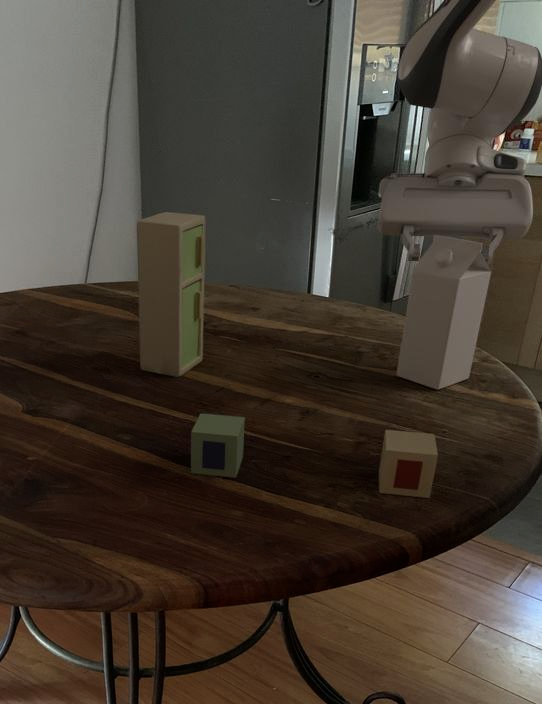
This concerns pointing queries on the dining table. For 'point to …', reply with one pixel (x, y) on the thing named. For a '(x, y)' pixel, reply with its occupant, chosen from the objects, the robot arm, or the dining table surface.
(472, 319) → the milk carton
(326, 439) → the dining table surface
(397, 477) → the cream letter block
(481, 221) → the robot arm
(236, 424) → the sage letter block
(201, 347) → the toy refrigerator
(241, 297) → the dining table surface
